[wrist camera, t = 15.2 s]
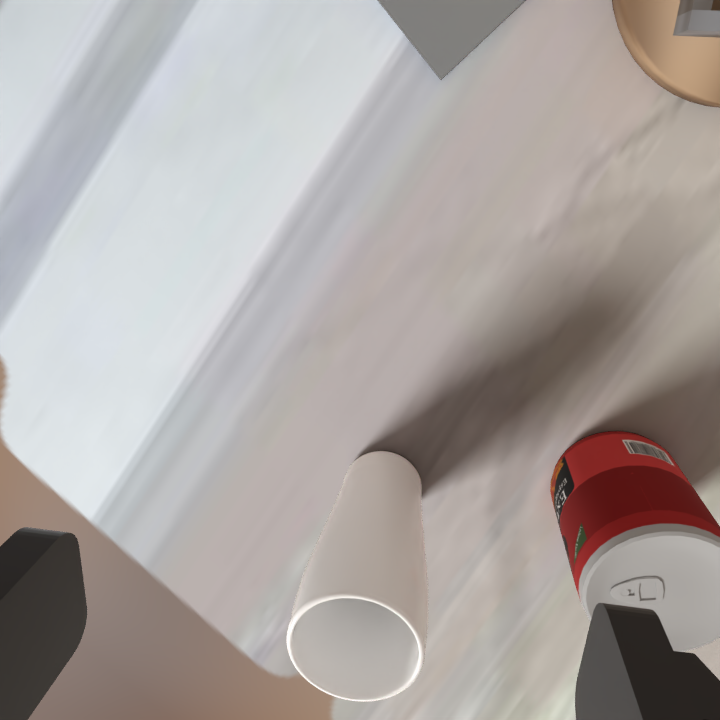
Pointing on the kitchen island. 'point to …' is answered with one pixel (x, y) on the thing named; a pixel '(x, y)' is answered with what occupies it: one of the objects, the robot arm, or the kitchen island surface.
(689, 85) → the copper round socket base
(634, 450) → the canned food
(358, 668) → the drinking glass
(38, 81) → the kitchen island surface
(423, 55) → the mat
